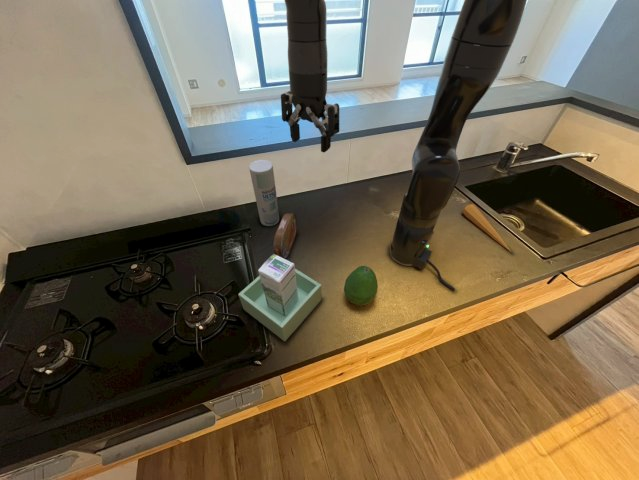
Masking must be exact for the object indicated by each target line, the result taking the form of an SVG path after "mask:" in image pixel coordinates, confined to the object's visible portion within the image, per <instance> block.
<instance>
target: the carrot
mask: <svg viewBox="0 0 639 480" xmlns="http://www.w3.org/2000/svg"><path fill="white" fill-rule="evenodd" d="M462 213H463V215H464V216H465V218H467V219H468V220H470V221H471V222H472V223H473V224H474V225H475V226H476V227H478V228H479V229H480V230H481V231H483V232H484V233H485V234H486V235H488V236H489V237H490V238H491V239H493V240H494V241H495V242H497V243H498V244H499V245H500V246H502V247H503V248H505V249H506V250H507V251H509V252H510V253H512V251H511V249H510V248H509V246H508V245H507V244H506V242H505V241H504V240H503V238H502V236H500V234H499V233H498V232H497V230H496V229H495V228H494V227H493V225H492V224H491V223H490V222H489V221H488V219H487V218H486V217H485V215H484V214H483V213H482V212H481V211H480V209H479V208H477V206H476V205H475V204H473V203H470V204H467V205H465V206H464V207H463V209H462Z"/></svg>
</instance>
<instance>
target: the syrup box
mask: <svg viewBox="0 0 639 480" xmlns="http://www.w3.org/2000/svg"><path fill="white" fill-rule="evenodd" d="M295 269H296V266H295V263H294V262H292V261H289V260H288V259H287V258H281V257H279V256H277V255H275V253H272V255H270V256H269V257H268V259H266V260H265V261H264V262H263V264H262V265H261V266H260V267H259V268H258V269H257V272H258V276H260V280H261V283H262V287H263V291H264V294H265V298H266V302H267V305H268V307H270V308H272V309H274V310H275V311H277V312H279V313H281V314H282V315H284V316H286V315H287V314H288V313H289V311H290V310H291V309H292V307H293V306H294V305H295V303H296V302H297V301H298V293H297V284H296V274H295Z"/></svg>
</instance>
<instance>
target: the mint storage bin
mask: <svg viewBox="0 0 639 480" xmlns="http://www.w3.org/2000/svg"><path fill="white" fill-rule="evenodd" d="M295 274H296V284H297V293H298V301H297V302H296V303H295V305H294V306H293V307H292V309H291V310H290V311H289V313H288V314H287V315H286V316H284V315H282V314H281V313H279V312H277V311H275V310H274V309H272V308H270V307H268V305H267V302H266V298H265V294H264V291H263V287H262V283H261V280H260V276H259V275H258V276H257V277H256V278H255V279H253V281H251V282H250V283H249V284H248V285H247V286H245V288H244V289H242V290H241V291H240V292H239V293H238V298H239V301H240V303H241V307H242V309H243V310H244V311H245V312H246V313H247V314H249V315H250V316H251V317H252V318H254V319H255V320H257V321H258V322H259V323H260V324H262V325H263V326H264V327H266V329H268V330H269V331H270V332H271V333H273V334H274V335H276V336H277V337H278V338H279V339H280V340H282V341H283V342H287V340H288V339H289V338H290V337H291V336H292V334H293V333H294V332H296V330H297V328H299V326H300V325H301V324H302V323H303V322H304V320H306V318H307V317H308V316H309V315H310V314H311V312H312V311H314V309H315V308H317V306H318V305H319V303H320V302H321V301H322V284H321V283H319V282H318V281H316V280H315V279H312V278H311V277H309V276H308V275H306V274H305V273H303V272H302V271H300V270H298V269H297V268H295Z"/></svg>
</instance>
